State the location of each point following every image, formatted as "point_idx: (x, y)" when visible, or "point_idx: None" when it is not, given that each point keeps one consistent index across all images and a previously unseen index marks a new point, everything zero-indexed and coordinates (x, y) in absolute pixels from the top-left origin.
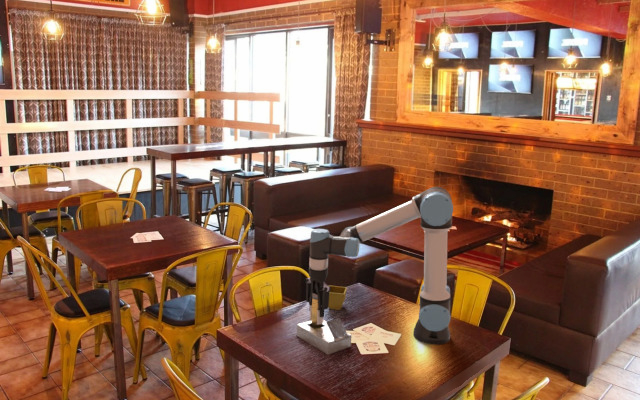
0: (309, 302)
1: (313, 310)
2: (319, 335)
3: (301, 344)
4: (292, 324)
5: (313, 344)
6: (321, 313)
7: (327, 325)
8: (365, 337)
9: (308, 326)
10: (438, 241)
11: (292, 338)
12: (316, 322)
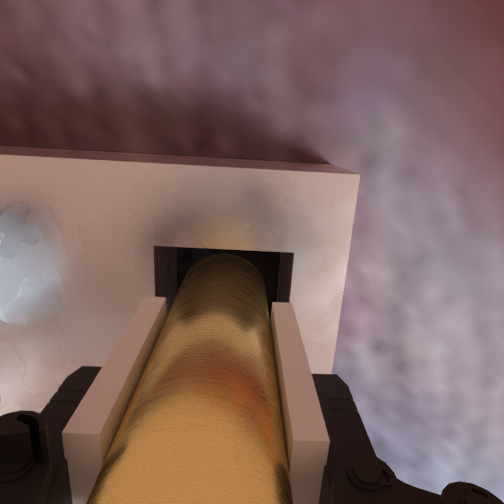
0: (381, 494)
1: (190, 378)
2: (6, 184)
3: (186, 88)
4: (493, 269)
5: (106, 152)
6: (46, 410)
7: None
8: None
9: (244, 236)
10: None
11: (318, 102)
12: (173, 307)
